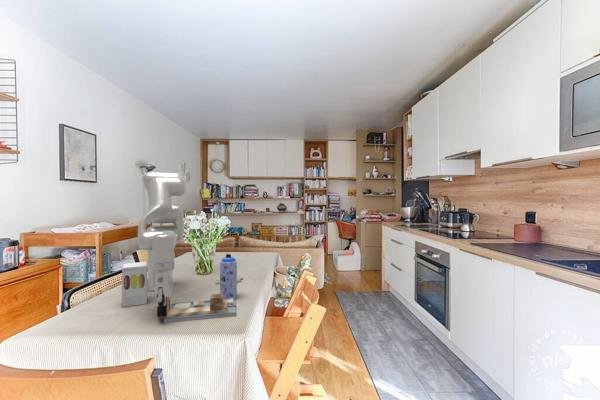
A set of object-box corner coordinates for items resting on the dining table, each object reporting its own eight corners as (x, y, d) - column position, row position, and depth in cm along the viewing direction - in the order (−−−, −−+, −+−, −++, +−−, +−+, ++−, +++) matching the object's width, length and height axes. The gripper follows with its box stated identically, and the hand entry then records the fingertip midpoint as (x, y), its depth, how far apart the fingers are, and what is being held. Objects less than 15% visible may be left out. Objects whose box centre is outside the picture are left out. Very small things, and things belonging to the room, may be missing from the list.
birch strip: (157, 318, 108) (157, 299, 108) (161, 313, 113) (161, 295, 113) (227, 312, 114) (227, 294, 114) (227, 307, 119) (227, 290, 119)
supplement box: (121, 307, 121) (121, 267, 121) (123, 300, 129) (122, 263, 129) (147, 303, 126) (147, 265, 125) (147, 297, 134) (147, 260, 134)
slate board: (164, 322, 107) (163, 318, 107) (172, 306, 123) (172, 303, 123) (235, 316, 113) (235, 312, 113) (235, 301, 129) (235, 298, 129)
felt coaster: (173, 310, 116) (173, 309, 116) (175, 305, 122) (175, 303, 122) (188, 309, 118) (188, 307, 118) (190, 303, 123) (190, 302, 123)
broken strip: (192, 308, 119) (192, 305, 119) (193, 304, 123) (193, 301, 123) (233, 305, 122) (233, 302, 122) (233, 301, 127) (233, 298, 127)
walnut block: (210, 310, 112) (210, 298, 112) (210, 306, 117) (210, 294, 117) (222, 309, 114) (222, 297, 113) (223, 305, 118) (223, 293, 118)
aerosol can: (216, 297, 134) (216, 254, 134) (231, 293, 139) (231, 251, 139) (225, 301, 128) (225, 256, 128) (240, 297, 134) (240, 254, 134)
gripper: (169, 270, 103) (169, 321, 103) (177, 260, 120) (178, 304, 120) (146, 272, 101) (146, 323, 102) (158, 261, 118) (158, 305, 118)
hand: (163, 312), depth 111 cm, fingers closed on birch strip, 5 cm apart
